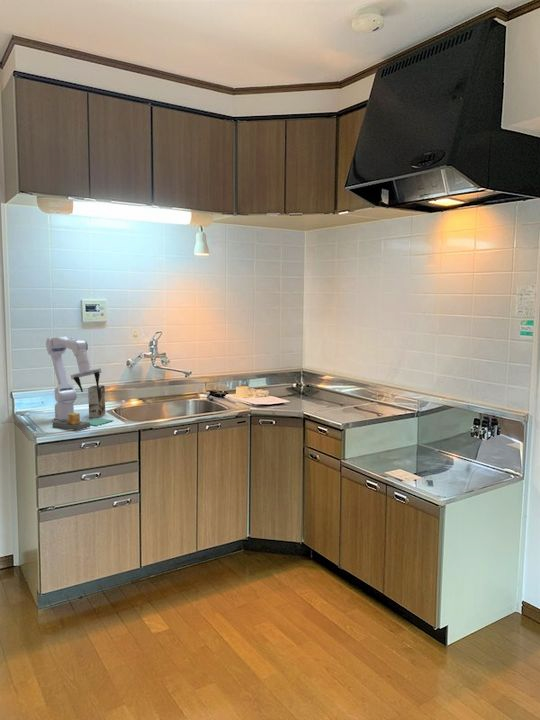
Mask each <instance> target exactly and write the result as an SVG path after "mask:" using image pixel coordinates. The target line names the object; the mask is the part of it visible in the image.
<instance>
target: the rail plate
mask: <svg viewBox="0 0 540 720" xmlns="http://www.w3.org/2000/svg"><path fill="white" fill-rule="evenodd" d="M83 421H84V420H80V423H77V424H68V419H62V420H56V421H52V428H57V429H63V430H68V429H73V430H72V431H74V430H79V431H81V430H80V429H83V428H86V429H88V428H87V427H89V428H91V425H90V422H83ZM83 430H84V429H83Z"/></svg>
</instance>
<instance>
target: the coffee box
mask: <svg viewBox="0 0 540 720" xmlns="http://www.w3.org/2000/svg"><path fill="white" fill-rule="evenodd" d="M87 388H88V390H87V392H88V393H87V394H88V417H89V418H102V417H103V416H105V415H106V393H105V392H106V391H105V385H100V384H99V388H97V385H91V386H89V387H87Z"/></svg>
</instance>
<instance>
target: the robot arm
mask: <svg viewBox="0 0 540 720" xmlns="http://www.w3.org/2000/svg"><path fill="white" fill-rule="evenodd" d="M45 347H46V351H47V354H48V355H50V356H51V361H52V365H53V369H54V373H55V377H56V381H57V386H56V387H55V389H54V399H55V402H56V403H54V418H53V419H54V420H57V421H59V420H62V419H68V414H71V413H75V411H74V410H75V408H74V402H75V401H76V400H77V397H78V395H77V394H78V393H77V390H76V389H75V386H74V385H73V384H71V383H69V381H68V377H67V374H66V370H65V366H64V365H65V364H64V361H63V356H62V355H64V354H65V353H66V351H67V349H69V350H71V351H72V352H73V355H74V356H75V359H76V362H77V368H78V371H79V372H77V373H74V374H71V375H70V378H71V380H73V381H74V382H75V383H76V384H77V385H78V387H79V389H80V392H81V393H83V392H84V391H83V387H82V384H81V379H80V378H83V377H88V376H92V375H94V378H95V379H94V380H95V384H96V386H97V388H99V385H100V384H99V381H100V376H101V373H102V369H101V368H99V367H98V368H92V366H91V363H90V358H89V355H88V349H89V345H88V342H87V341H86V340H85V339H83V340H79V338H75V337H73V336H72V337H69V338H68V337H67V336H65V335H64V336H54V337H49V336H48V337H47V338H46V340H45Z"/></svg>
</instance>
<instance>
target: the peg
mask: <svg viewBox="0 0 540 720" xmlns="http://www.w3.org/2000/svg"><path fill="white" fill-rule="evenodd" d="M80 415H81V414H80V413H77V412H74V413H71V414H68V424H77V423H80V421H81V416H80Z"/></svg>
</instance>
